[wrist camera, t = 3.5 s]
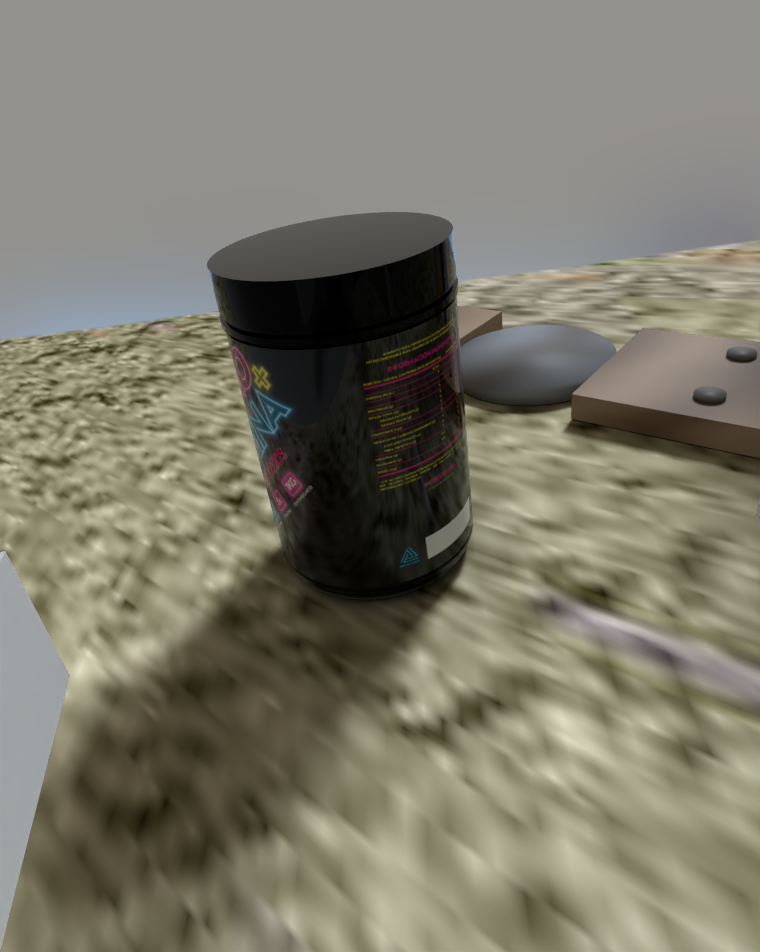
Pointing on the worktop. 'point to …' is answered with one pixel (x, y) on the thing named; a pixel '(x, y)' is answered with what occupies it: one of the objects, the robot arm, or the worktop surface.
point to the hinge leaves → (620, 378)
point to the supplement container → (354, 395)
